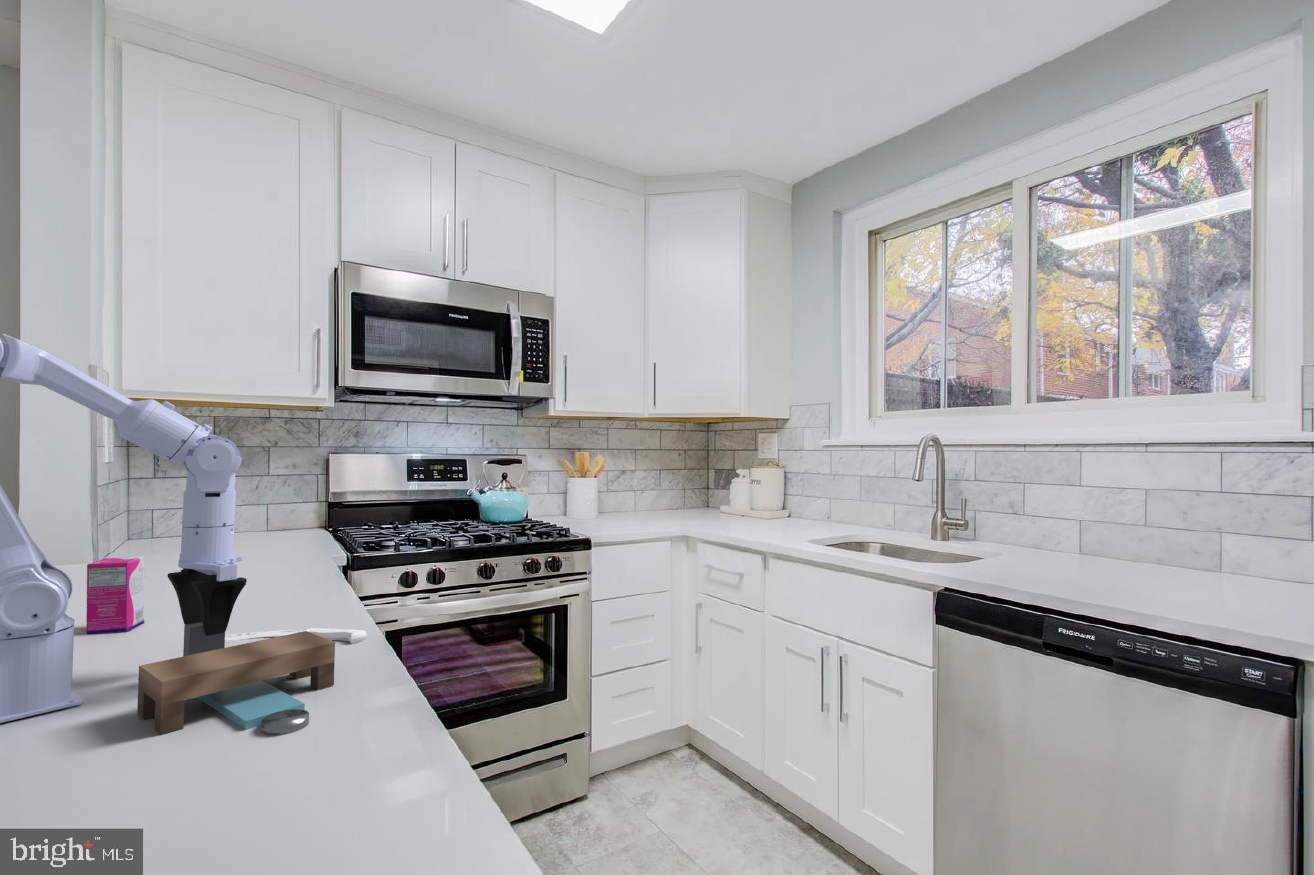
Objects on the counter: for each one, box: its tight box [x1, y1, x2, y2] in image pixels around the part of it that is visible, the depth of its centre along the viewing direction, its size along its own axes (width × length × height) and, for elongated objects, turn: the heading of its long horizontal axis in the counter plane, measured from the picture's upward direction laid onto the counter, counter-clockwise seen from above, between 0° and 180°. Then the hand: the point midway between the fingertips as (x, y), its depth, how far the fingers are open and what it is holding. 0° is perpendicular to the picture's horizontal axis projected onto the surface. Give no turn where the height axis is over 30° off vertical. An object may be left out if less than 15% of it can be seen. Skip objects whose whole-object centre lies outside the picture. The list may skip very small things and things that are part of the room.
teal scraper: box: [182, 622, 305, 731], centre depth 76 cm, size 6×23×7 cm, turn 53°
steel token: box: [260, 709, 310, 736], centre depth 68 cm, size 4×4×1 cm
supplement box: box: [85, 555, 146, 635], centre depth 103 cm, size 6×6×12 cm
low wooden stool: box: [136, 630, 336, 735], centre depth 75 cm, size 18×8×6 cm, turn 143°
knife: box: [225, 627, 368, 645], centre depth 99 cm, size 30×2×8 cm
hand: (204, 628), depth 83 cm, fingers open, 7 cm apart
